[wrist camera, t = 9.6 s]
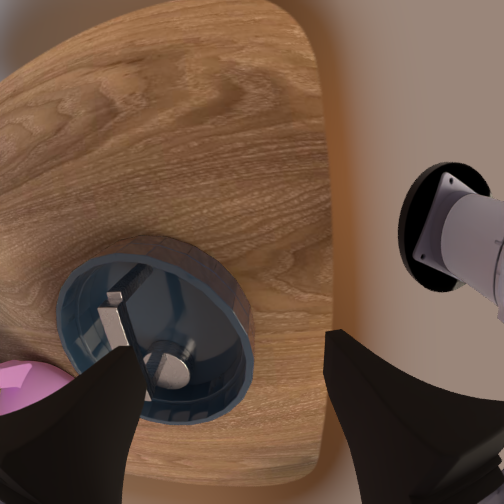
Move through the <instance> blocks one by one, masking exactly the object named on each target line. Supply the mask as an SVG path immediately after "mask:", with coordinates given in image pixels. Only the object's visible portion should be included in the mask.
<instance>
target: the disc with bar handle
mask: <svg viewBox="0 0 504 504" xmlns="http://www.w3.org/2000/svg"><path fill="white" fill-rule="evenodd" d="M152 272H153V270H152V266H150V265H147V264H142V263H138V264H137V265H135V266H134V267H133V268H132V269H131V270H130V271H129V272H128V273H127V274H126V275H125V276H123V277H122V278H121V279H120V280H119V281H118V282H117V283H116V284H115V285H114V286H113V287H112V288H111V289H110V290H109V291H107V297H108V300H105V301H104V302H103V303H102V304H101V305H100V306H99V307H98V308H97V309H98V312H99V315H100V318H101V321H102V324H103V327H104V330H105V333H106V335H107V338H108V341H109V343H110V346H111V348H112V350H113V349H114V348H116V347H118V346H133V349H134V352H135V354H136V357H137V360H138V362H139V365H140V367H141V370H142V373H143V375H144V378H145V380H146V382H147V390H146V396H145V401H152V398H153V396H154V393H155V387H156V385H157V386H159V387H162V388H165V389H171V390H175V389H180V388H183V387H185V386H186V385H187V384H188V383H189V381H190V377H191V374H192V371H193V367H194V362H193V358H192V356H191V355H190V353H189V352H188V351H187V350H186V349H185V348H184V347H183V346H181V345H179V344H177V343H175V342H171V341H165V340H163V341H157V342H155V343H153V344H151V345H150V346H149V348H148V350H147V352H146V354H145V355H144V357H143V356H142V353H141V351H140V348H139V345H138V342H137V339H136V336H135V333H134V330H133V327H132V323H131V320H130V317H129V314H128V310H127V307H126V302H127V301H128V299H129V298H130V297H131V296H132V295H133V294H134V293H135V291H136V290H137V289H138V288H139V287H140V286H141V285H142V283H143V282H144V281H145V280H146V279H147V278H148V277H149V276H150V275H151V273H152Z"/></svg>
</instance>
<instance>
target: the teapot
mask: <svg viewBox="0 0 504 504" xmlns="http://www.w3.org/2000/svg"><path fill="white" fill-rule="evenodd" d="M73 379H75V378H74V377H73V376H71V375H70V374H68V373H67V372H65V371H63V370H62V369H60V368H58V367H56V366H53V365H51V364H48V363H44V362H37V361H18V360H10V361H7V362H3V363H0V388H2V389H1V393H0V416H1V415H4V414H7V413H11V412H13V411H16V410H19V409H22V408H24V407H26V406H28V405H31V404H33V403H35V402H37V401H39V400H41V399H43V398H45V397H47V396H49V395H50V394H52V393H54V392H55V391H57V390H59V389H60V388H62V387H63V386H65V385H66V384H68V383H69V382H70V381H72V380H73Z"/></svg>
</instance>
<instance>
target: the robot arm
mask: <svg viewBox="0 0 504 504" xmlns="http://www.w3.org/2000/svg"><path fill="white" fill-rule="evenodd" d="M450 179H451V182H449V180H450ZM422 254H423V257H422V258H421V255H422ZM412 256H413V258H414V259H415V260H417V261H419V262H421V263H423V264H426V265H428V266H430V267H432V268H435V269H437V270H439V271H441V272H443V273H445V274H448V275H450V276H452V277H454V278H456V279H458V280H460V281H462V282H465V283H467V284H468V285H469V286H471V287H472V288H474V289H475V290H476V291H478V292H479V293H481V294H482V295H483V296H485V297H486V298H487V299H489V300H490V301H491V302H493V303H494V304H495V305H496V306H498V307H499V311H498V319H499V320H501V321H502V322H503V323H504V201H501V200H498V199H494V198H490V197H486V196H482V195H478V194H477V193H475V192H474V191H473V190H472V189H470V188H469V187H468V186H466V185H465V184H464V183H462V182H461V181H459V180H458V179H457V178H455V177H454V176H452V175H451V174H449V173H447V172H444V173H443V174H442V175H441V178H440V182H439V185H438V188H437V191H436V194H435V197H434V200H433V203H432V205H431V208H430V211H429V214H428V216H427V219H426V222H425V224H424V227H423V229H422V232H421V234H420V237H419V239H418V241H417V244H416V246H415V249H414V251H413V254H412ZM323 375H324V379H325V383H326V387H327V391H328V394H329V397H330V400H331V402H332V405H333V407H334V410H335V412H336V414H337V417H338V419H339V422H340V424H341V427H342V429H343V432H344V434H345V437H346V439H347V442H348V445H349V448H350V451H351V455H352V459H353V463H354V466H355V471H356V475H357V480H358V484H359V489H360V495H361V500H362V504H504V469H503V470H502V471H501V470H500V468H499V467H498V465H499V464H500V463H501V462H502V460H501V458H500V457H499V455H498V454H499V452H500V451H501V450H502V449H503V448H504V401H497V400H488V399H480V398H475V397H470V396H466V395H461V394H458V393H454V392H450V391H447V390H445V389H442V388H439V387H436V386H433V385H431V384H428V383H426V382H424V381H421V380H419V379H417V378H415V377H413V376H411V375H409V374H407V373H405V372H403V371H401V370H400V369H398V368H396V367H394V366H393V365H391V364H390V363H388V362H386V361H385V360H383V359H382V358H380V357H379V356H377V355H376V354H374V353H373V352H372V351H370V350H369V349H367V348H366V347H365V346H363V345H362V344H361V343H359V342H358V341H356V340H355V339H354V338H353V337H351V336H350V335H349V334H347V333H346V332H345V331H343V330H342V329H340V330H333V331H327V332H325V352H324V367H323ZM146 390H147V382H146V380H145V378H144V375H143V373H142V370H141V367H140V365H139V362H138V360H137V357H136V354H135V352H134V349H133V346H118V347H116V348H114V349H113V350H112V351H110V352H109V353H108V354H106V355H105V356H104V357H102V358H101V359H100V360H98V361H97V362H96V363H95V364H93V365H92V366H91V367H89V368H88V369H87V370H86V371H84V372H83V373H82V374H80V375H79V376H77V377H76V378H75V379H73V380H72V381H70V382H69V383H68V384H66V385H65V386H63V387H62V388H60V389H59V390H57V391H55V392H54V393H52V394H50V395H49V396H47V397H45V398H43V399H41V400H39V401H37V402H35V403H33V404H31V405H28V406H26V407H24V408H22V409H19V410H16V411H13V412H11V413H7V414H4V415H1V416H0V504H122V488H123V480H124V473H125V466H126V460H127V456H128V452H129V448H130V445H131V442H132V439H133V436H134V433H135V430H136V427H137V424H138V421H139V418H140V415H141V412H142V409H143V406H144V401H145V396H146Z"/></svg>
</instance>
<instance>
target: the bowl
mask: <svg viewBox="0 0 504 504" xmlns="http://www.w3.org/2000/svg"><path fill="white" fill-rule="evenodd" d="M138 263H142V264H147V265H150V266H152V270H153V272H152V273H151V275H150V276H149V277H148V278H147V279H146V280H145V281H144V282H143V283H142V285H141V286H140V287H139V288H138V289H137V290H136V291H135V293H134V294H133V295H132V296H131V297H130V298H129V299H128V301H127V302H126V307H127V310H128V314H129V317H130V320H131V323H132V327H133V330H134V333H135V336H136V339H137V342H138V345H139V348H140V351H141V353H142V356H143V357H144V355H145V354H146V352H147V350H148V348H149V346H150V345H151V344H153V343H155V342H157V341H163V340H165V341H171V342H175V343H177V344H179V345H181V346H183V347H184V348H185V349H186V350H187V351H188V352H189V353H190V355H191V356H192V358H193V362H194V367H193V371H192V374H191V377H190V381H189V383H188V384H187V385H186V386H185V387H183V388H180V389H175V390H171V389H165V388H162V387H159V386H157V385H156V387H155V393H154V396H153V398H152V401H144V406H143V409H142V412H141V415H140V418H142V419H144V420H148V421H152V422H156V423H161V424H167V425H194V424H199V423H204V422H209V421H212V420H214V419H216V418H218V417H221V416H223V415H225V414H227V413H228V412H230V411H231V410H232V409H233V408H234V407H235V406H236V405H237V404H239V403H240V402H241V401H242V400H243V398H244V397H245V395H246V393H247V391H248V389H249V387H250V385H251V383H252V379H253V369H254V348H255V325H254V320H253V316H252V312H251V307H250V304H249V302H248V300H247V298H246V296H245V294H244V293H243V291H242V289H241V287H240V285H239V284H238V282H237V280H236V279H235V278H234V277H233V276H232V275H231V274H230V273H229V272H228V271H227V270H226V269H225V268H224V267H223V266H222V265H221V264H220V263H219V261H217V260H215V259H214V258H212V257H211V256H209V255H208V254H206V253H204V252H203V251H201V250H200V249H198V248H197V247H195V246H193V245H190V244H187V243H184V242H181V241H178V240H175V239H172V238H169V237H164V236H147V235H142V236H141V235H140V236H136V237H132V238H128V239H123V240H120V241H117V242H116V243H114V244H113V245H111V246H109V247H108V248H106V249H105V250H103V251H102V252H100V253H98V254H97V255H95V256H94V257H92V258H91V259H89V260H88V261H86V262H85V263H83V264H82V265H80V266H79V267H77V268H76V269H74V270H73V271H72V272H71V274H70V275H69V277H68V278H67V279H66V281H65V282H64V284H63V285H62V287H61V289H60V293H59V297H58V301H57V305H56V321H57V330H58V334H59V337H60V340H61V343H62V347H63V349H64V351H65V353H66V355H67V357H68V359H69V360H70V362H71V364H72V366H73V367H74V369H75V370H76V371H77V373H78V374H79V375H80V374H82V373H83V372H84V371H86V370H87V369H88V368H89V367H91V366H92V365H93V364H95V363H96V362H97V361H98V360H100V359H101V358H102V357H104V356H105V355H106V354H108V353H109V352H110V351H112V348H111V346H110V343H109V341H108V338H107V335H106V333H105V330H104V327H103V324H102V321H101V318H100V315H99V312H98V309H97V308H98V307H99V306H100V305H101V304H102V303H103V302H104V301H105V300H108V297H107V291H109V290H110V289H111V288H112V287H113V286H114V285H115V284H116V283H117V282H118V281H119V280H120V279H121V278H122V277H123V276H125V275H126V274H127V273H128V272H129V271H130V270H131V269H132V268H133V267H134V266H135V265H137V264H138Z"/></svg>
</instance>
